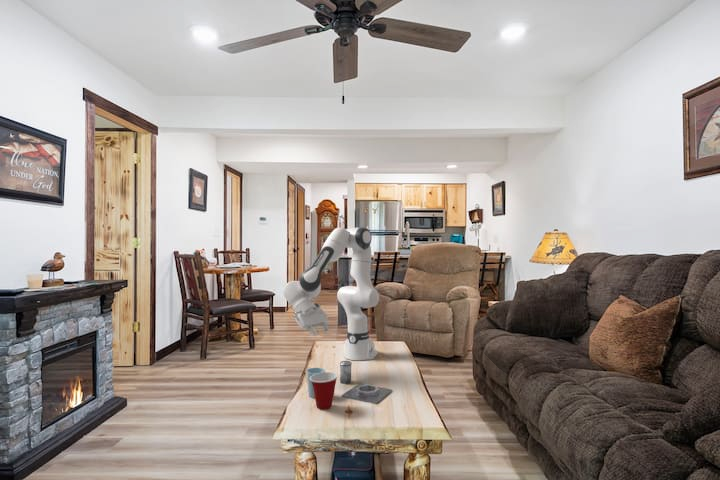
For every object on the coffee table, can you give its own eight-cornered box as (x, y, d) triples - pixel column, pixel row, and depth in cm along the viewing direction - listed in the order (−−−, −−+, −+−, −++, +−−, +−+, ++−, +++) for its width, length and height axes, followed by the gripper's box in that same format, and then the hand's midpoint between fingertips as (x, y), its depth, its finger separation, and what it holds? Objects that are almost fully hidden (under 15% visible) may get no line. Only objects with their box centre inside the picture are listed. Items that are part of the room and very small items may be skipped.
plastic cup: (310, 401, 160) (310, 371, 160) (337, 400, 161) (337, 370, 161) (308, 413, 149) (308, 380, 149) (337, 412, 150) (338, 380, 150)
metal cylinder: (343, 379, 186) (343, 360, 186) (353, 381, 184) (353, 361, 184) (337, 383, 182) (337, 363, 182) (347, 384, 179) (348, 364, 179)
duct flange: (359, 384, 179) (359, 379, 180) (392, 390, 172) (392, 385, 172) (341, 396, 165) (341, 391, 165) (376, 404, 158) (376, 398, 158)
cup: (326, 398, 164) (326, 372, 164) (307, 400, 162) (307, 374, 162) (323, 391, 171) (323, 367, 171) (305, 393, 169) (305, 368, 169)
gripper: (296, 308, 183) (313, 332, 178) (320, 303, 201) (337, 325, 196) (288, 317, 185) (305, 341, 180) (313, 311, 203) (329, 333, 198)
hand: (322, 332), depth 188 cm, fingers open, 8 cm apart
